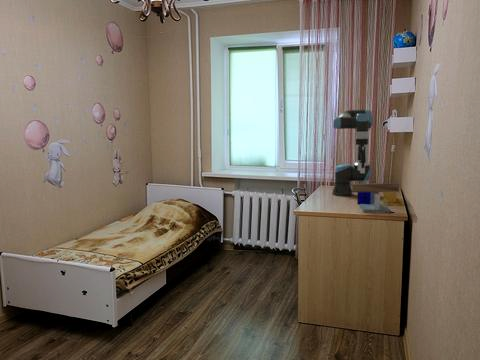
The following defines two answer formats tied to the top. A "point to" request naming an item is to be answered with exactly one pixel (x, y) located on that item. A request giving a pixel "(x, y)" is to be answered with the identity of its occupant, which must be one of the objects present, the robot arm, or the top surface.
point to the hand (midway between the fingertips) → (361, 171)
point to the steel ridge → (375, 200)
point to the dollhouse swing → (391, 199)
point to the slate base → (370, 209)
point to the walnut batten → (376, 187)
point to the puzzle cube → (363, 198)
